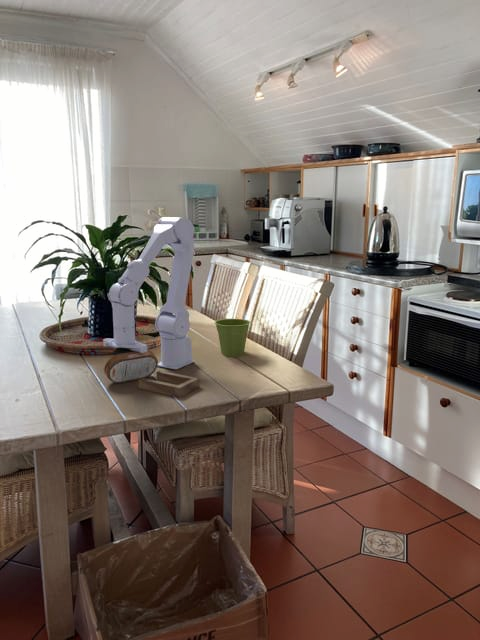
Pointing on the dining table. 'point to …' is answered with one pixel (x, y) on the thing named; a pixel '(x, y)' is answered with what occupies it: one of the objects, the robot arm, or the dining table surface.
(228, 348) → the plant pot
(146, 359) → the tin
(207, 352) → the dining table surface
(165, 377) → the dock
